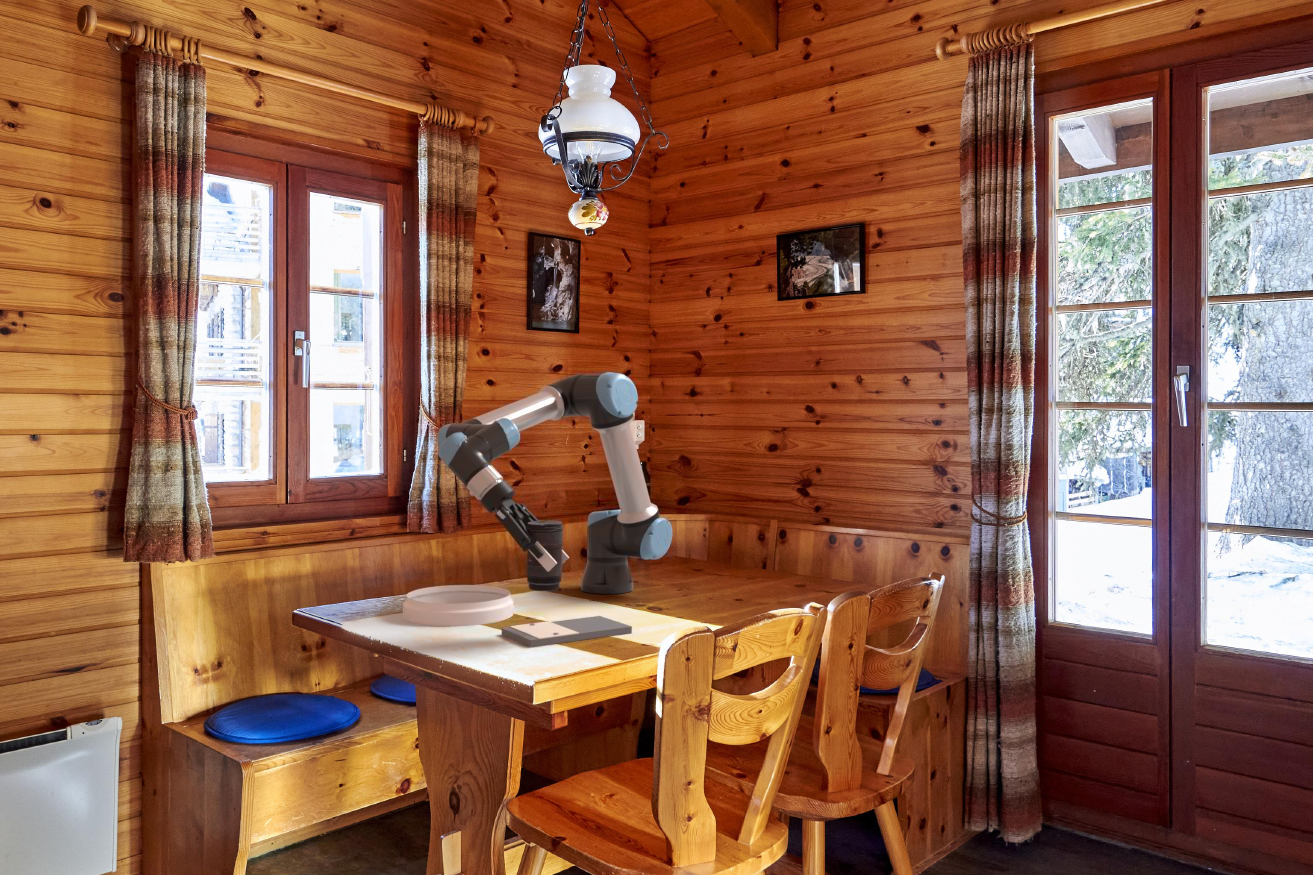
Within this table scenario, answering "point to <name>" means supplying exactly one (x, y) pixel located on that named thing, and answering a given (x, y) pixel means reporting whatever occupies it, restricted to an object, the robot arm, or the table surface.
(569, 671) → the table surface
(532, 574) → the camera lens
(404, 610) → the white round tray
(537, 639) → the board
